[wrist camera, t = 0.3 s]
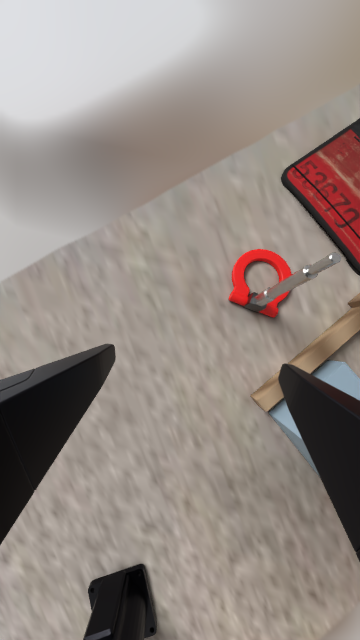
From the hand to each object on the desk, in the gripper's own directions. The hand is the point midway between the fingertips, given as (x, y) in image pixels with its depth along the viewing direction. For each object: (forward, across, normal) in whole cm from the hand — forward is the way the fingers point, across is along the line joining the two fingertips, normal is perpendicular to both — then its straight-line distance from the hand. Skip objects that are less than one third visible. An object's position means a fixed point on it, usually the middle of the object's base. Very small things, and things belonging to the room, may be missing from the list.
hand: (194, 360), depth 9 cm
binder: (+27, -23, -14) cm, 38 cm away
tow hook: (+18, -9, -2) cm, 20 cm away
